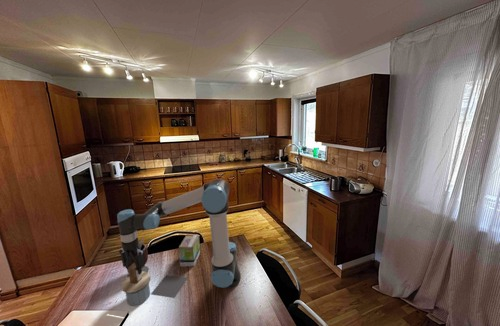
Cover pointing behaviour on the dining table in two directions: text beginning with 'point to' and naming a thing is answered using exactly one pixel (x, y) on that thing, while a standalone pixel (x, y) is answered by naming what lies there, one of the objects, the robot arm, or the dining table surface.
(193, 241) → the tea box
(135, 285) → the lid
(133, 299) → the bowl
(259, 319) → the dining table surface
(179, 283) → the mat
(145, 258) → the mate gourd
